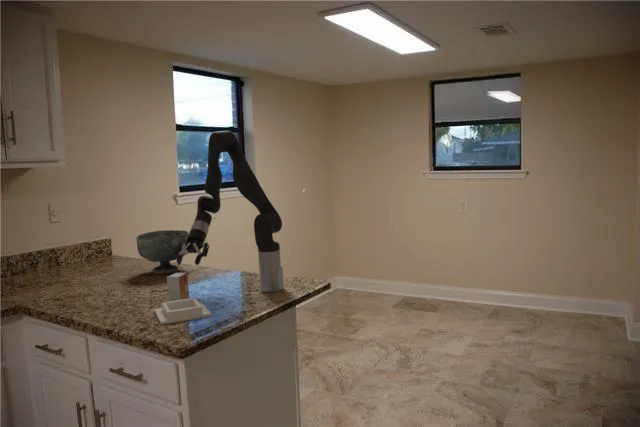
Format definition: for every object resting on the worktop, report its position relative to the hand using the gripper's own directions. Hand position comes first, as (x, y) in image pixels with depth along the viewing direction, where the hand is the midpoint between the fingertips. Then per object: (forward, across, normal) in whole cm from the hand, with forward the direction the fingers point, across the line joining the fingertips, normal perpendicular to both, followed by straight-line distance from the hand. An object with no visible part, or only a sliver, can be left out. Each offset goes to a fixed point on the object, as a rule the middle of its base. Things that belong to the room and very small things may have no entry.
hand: (187, 263), depth 227 cm
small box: (+16, 0, +3) cm, 16 cm away
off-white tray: (+28, +12, -10) cm, 32 cm away
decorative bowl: (-18, -36, +37) cm, 55 cm away
